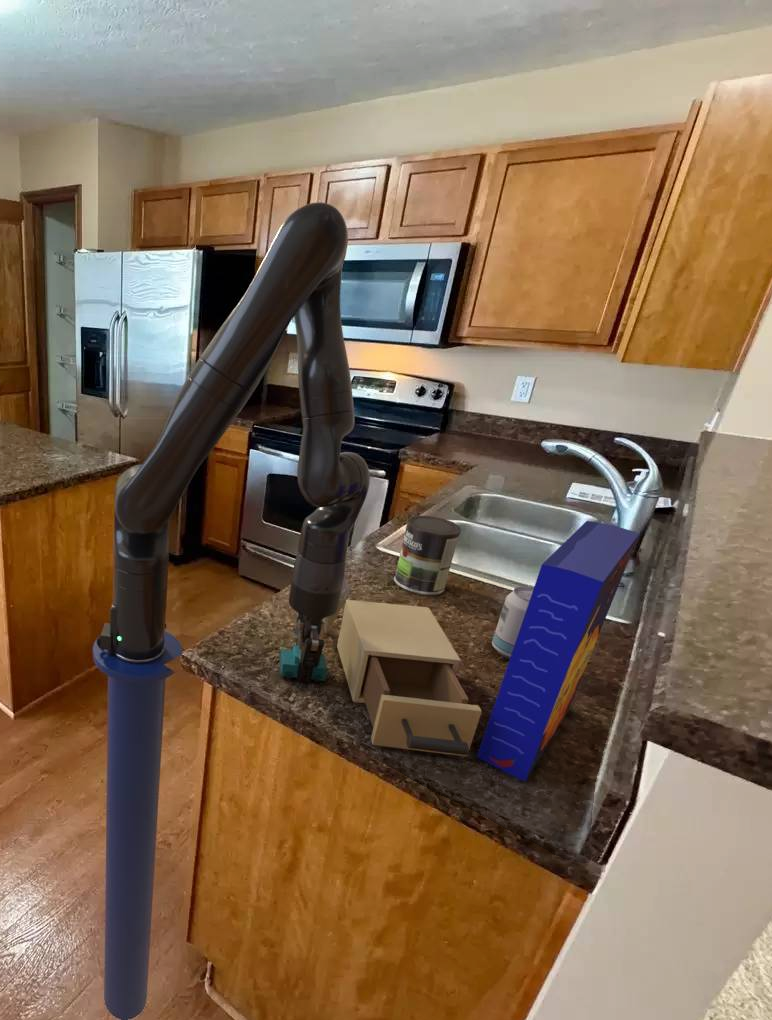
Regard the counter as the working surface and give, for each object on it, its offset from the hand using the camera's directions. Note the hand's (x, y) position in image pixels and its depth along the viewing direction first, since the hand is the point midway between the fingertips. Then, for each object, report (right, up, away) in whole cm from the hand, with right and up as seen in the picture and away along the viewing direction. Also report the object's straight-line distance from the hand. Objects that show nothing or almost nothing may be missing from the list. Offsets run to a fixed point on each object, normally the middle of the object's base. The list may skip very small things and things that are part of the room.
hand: (301, 670), depth 99 cm
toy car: (0, 0, 0) cm, 0 cm away
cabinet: (+14, -1, 0) cm, 14 cm away
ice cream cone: (+8, +4, +12) cm, 15 cm away
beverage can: (+40, +1, +7) cm, 40 cm away
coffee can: (+35, +12, +31) cm, 48 cm away
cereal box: (+29, -7, -12) cm, 32 cm away
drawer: (+12, -5, -13) cm, 18 cm away
